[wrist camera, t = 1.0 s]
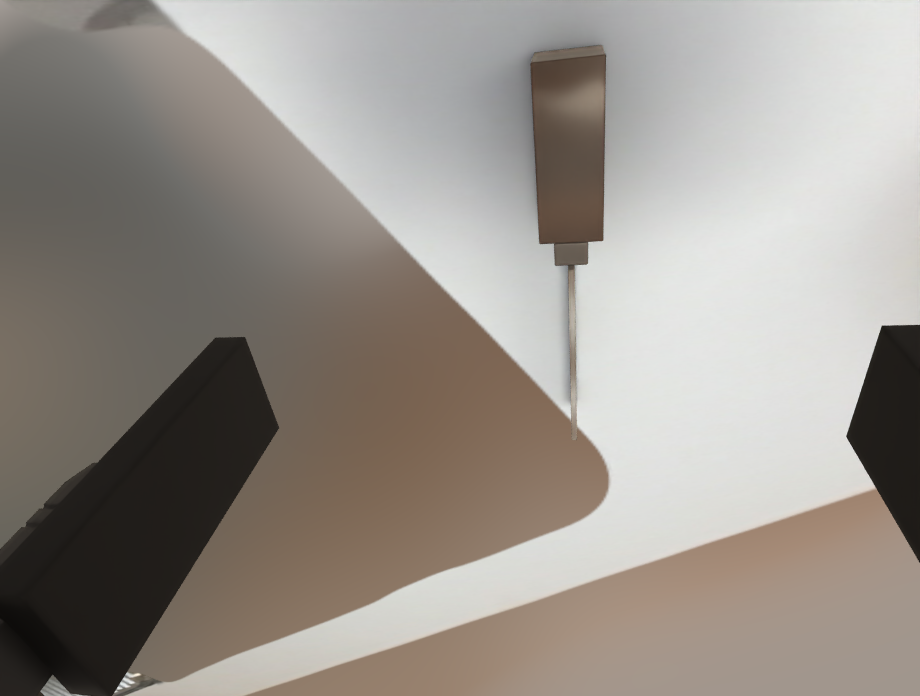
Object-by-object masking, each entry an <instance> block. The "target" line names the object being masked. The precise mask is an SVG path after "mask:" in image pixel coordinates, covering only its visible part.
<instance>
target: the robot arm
mask: <svg viewBox="0 0 920 696" xmlns="http://www.w3.org/2000/svg"><path fill="white" fill-rule="evenodd" d="M278 429H279V426H278V424H277V421H276V418H275V416H274V413H273V410H272V408H271V405H270V402H269V400H268V397H267V394H266V392H265V389H264V387H263V384H262V381H261V378H260V376H259V373H258V370H257V368H256V365H255V362H254V360H253V357H252V354H251V352H250V349H249V346H248V344H247V341H246V339H245V337H233V338H231V337H230V338H215V339H214V340H213V341H212V342H211V343H210V344H209V345H208V346H207V347H206V348H205V349H204V350H203V351H202V353H201V354H200V355H199V356H198V357H197V358H196V359H195V360H194V361H193V362H192V363H191V364H190V365H189V366H188V367H187V368H186V369H185V370H184V372H183V373H182V374H181V375H180V376H179V377H178V378H177V379H176V380H175V381H174V382H173V383H172V384H171V386H169V387H168V389H167V390H166V391H165V392H164V393H163V394H162V395H161V396H160V397H159V398H158V399H157V400H156V401H155V402H154V403H153V404H152V406H151V407H150V408H149V409H148V410H147V411H146V412H145V413H144V414H143V415H142V416H141V417H140V418H139V419H138V420H137V421H136V423H135V424H134V425H133V426H132V427H131V428H130V429H129V430H128V431H127V432H126V433H125V434H124V435H123V436H122V437H121V438H120V439H119V441H118V442H117V443H116V444H115V445H114V446H113V447H112V448H111V449H110V450H109V451H108V452H107V453H106V454H105V455H104V456H103V457H102V459H101V460H100V461H99V462H98V463H92V464H91V465H89V466H88V467H86V468H85V469H84V470H82V471H81V472H79V473H78V474H76V475H75V476H73V477H72V478H71V479H69V480H68V481H66V482H65V483H64V484H63V485H62V486H61V487H60V488H59V489H58V490H57V491H56V492H55V493H54V494H53V495H52V496H51V497H50V498H49V499H48V501H46V503H45V504H44V508H43V509H39V510H38V511H37V512H36V513H35V514H34V515H33V516H32V517H31V518H30V519H29V520H28V521H27V522H26V527H21V528H20V529H19V530H18V531H17V532H16V533H15V535H14V536H13V537H12V538H11V539H10V540H9V541H8V542H7V543H6V544H5V545H4V546H3V547H2V548H1V549H0V696H44V695H43V694H42V693H41V692H40V691H41V689H42V688H43V687H44V685H45V684H46V683H47V681H48V680H49V678H50V677H51V676H52V674H53V675H54V676H55V677H56V678H57V680H58V681H59V682H60V683H61V684H62V685H63V686H64V687H65V688H66V689H67V690H68V691H69V692H70V694H79V695H87V696H112V695H113V694H114V692H115V690H116V689H117V687H118V686H119V684H120V682H121V681H122V679H123V677H124V676H125V674H126V673H127V671H128V669H129V668H130V666H131V665H132V663H133V661H134V660H135V658H136V657H137V655H138V653H139V652H140V650H141V649H142V647H143V645H144V644H145V642H146V641H147V639H148V637H149V636H150V634H151V633H152V631H153V629H154V628H155V626H156V625H157V623H158V621H159V620H160V618H161V617H162V615H163V613H164V611H165V610H166V609H167V607H168V605H169V604H170V602H171V600H172V599H173V597H174V596H175V594H176V592H177V591H178V589H179V588H180V586H181V584H182V583H183V581H184V580H185V578H186V576H187V575H188V573H189V572H190V570H191V568H192V567H193V565H194V563H195V562H196V560H197V559H198V557H199V556H200V554H201V552H202V551H203V549H204V547H205V546H206V544H207V543H208V541H209V539H210V538H211V536H212V535H213V533H214V531H215V530H216V528H217V527H218V525H219V523H220V522H221V520H222V519H223V517H224V515H225V514H226V512H227V511H228V509H229V507H230V506H231V504H232V503H233V501H234V499H235V498H236V496H237V495H238V493H239V491H240V490H241V488H242V487H243V485H244V483H245V482H246V480H247V478H248V477H249V475H250V474H251V472H252V471H253V469H254V467H255V466H256V464H257V463H258V461H259V459H260V458H261V456H262V454H263V453H264V451H265V450H266V448H267V446H268V445H269V443H270V442H271V440H272V438H273V437H274V435H275V434H276V432H277V430H278ZM846 437H847V439H848V441H849V442H850V444H851V446H852V447H853V449H854V451H855V453H856V454H857V456H858V458H859V459H860V461H861V463H862V464H863V466H864V468H865V470H866V471H867V473H868V475H869V476H870V478H871V480H872V482H873V483H874V485H875V487H876V488H877V490H878V492H879V494H880V495H881V497H882V499H883V500H884V502H885V504H886V505H887V507H888V509H889V511H890V512H891V514H892V516H893V518H894V519H895V521H896V523H897V524H898V526H899V528H900V529H901V531H902V533H903V534H904V536H905V538H906V540H907V542H908V543H909V545H910V547H911V548H912V550H913V552H914V554H915V555H916V557H917V559H918V560H919V562H920V325H894V326H882V327H881V330H880V333H879V336H878V339H877V342H876V346H875V349H874V352H873V355H872V358H871V361H870V364H869V367H868V370H867V374H866V377H865V380H864V383H863V386H862V389H861V392H860V395H859V398H858V402H857V405H856V408H855V411H854V414H853V417H852V420H851V423H850V426H849V430H848V433H847V436H846Z"/></svg>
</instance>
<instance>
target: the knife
mask: <svg viewBox="0 0 920 696" xmlns="http://www.w3.org/2000/svg"><path fill="white" fill-rule="evenodd" d="M530 65H531V85H532V105H533V126H534V146H535V166H536V186H537V206H538V226H539V243H540V244H552V243H554V256H555V265H556V266H562V265H568V285H569V333H570V380H571V424H572V426H571V427H572V440H577V405H576V336H575V266H574V265H586V264H588V242H593V241H603V217H604V150H605V84H606V54H605V52H604V49H603V46H602V45H596V46H588V47H579V48H570V49H561V50H553V51H544V52H535V53H534V55H533V58H532V61H531V64H530Z"/></svg>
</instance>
